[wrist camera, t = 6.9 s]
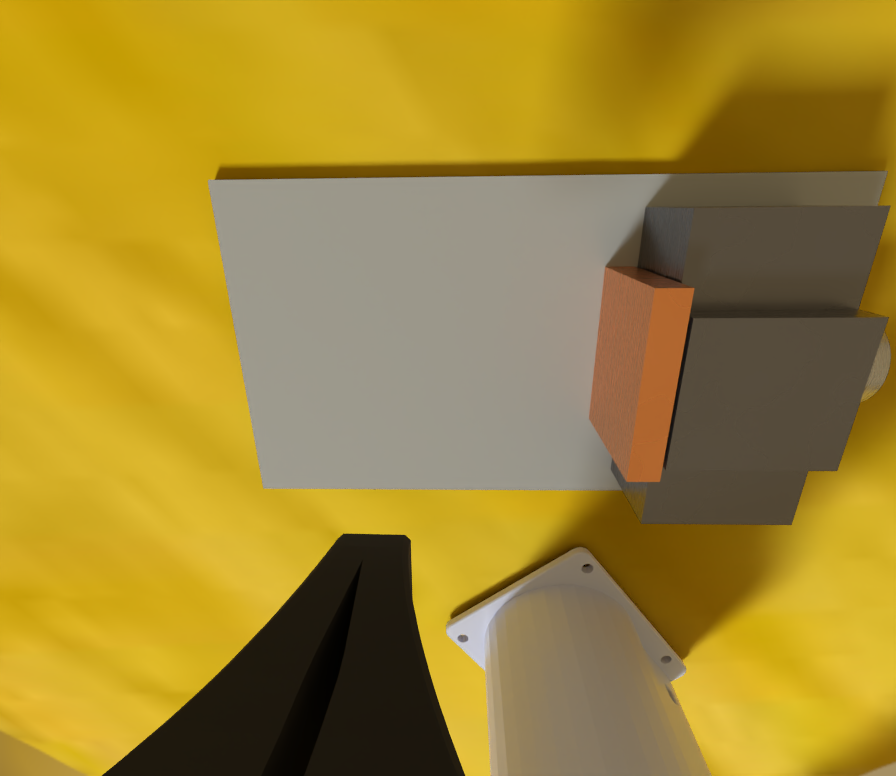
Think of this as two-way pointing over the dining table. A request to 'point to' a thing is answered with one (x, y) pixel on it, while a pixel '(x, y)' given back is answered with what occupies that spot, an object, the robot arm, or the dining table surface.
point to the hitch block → (760, 355)
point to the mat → (446, 317)
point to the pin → (650, 367)
